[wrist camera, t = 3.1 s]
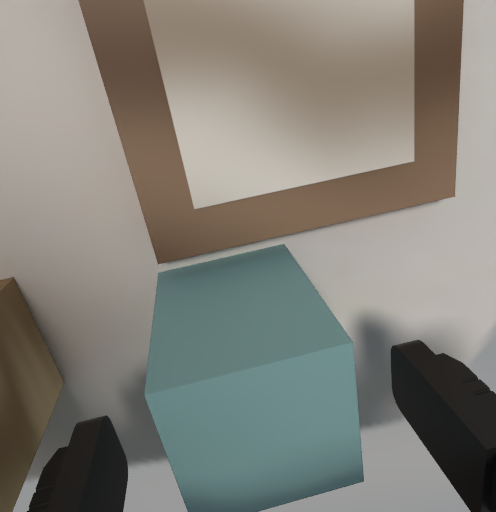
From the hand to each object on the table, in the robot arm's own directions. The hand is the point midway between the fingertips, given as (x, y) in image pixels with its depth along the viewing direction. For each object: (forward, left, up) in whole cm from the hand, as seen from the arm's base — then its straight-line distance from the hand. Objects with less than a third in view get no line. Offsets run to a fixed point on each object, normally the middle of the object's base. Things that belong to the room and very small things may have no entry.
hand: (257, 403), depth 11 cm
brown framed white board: (-8, +3, -4) cm, 10 cm away
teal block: (0, 0, -4) cm, 4 cm away
